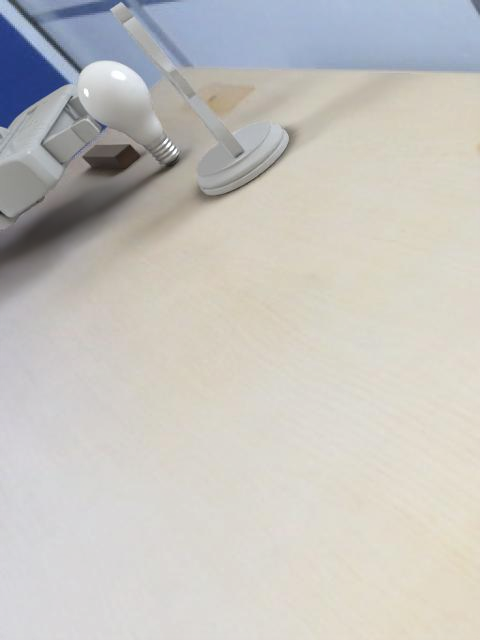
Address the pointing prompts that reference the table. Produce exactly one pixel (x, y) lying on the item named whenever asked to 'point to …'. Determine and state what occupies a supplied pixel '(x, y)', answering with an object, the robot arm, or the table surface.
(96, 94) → the lightbulb
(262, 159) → the white sign stand
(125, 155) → the walnut stick
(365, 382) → the table surface
